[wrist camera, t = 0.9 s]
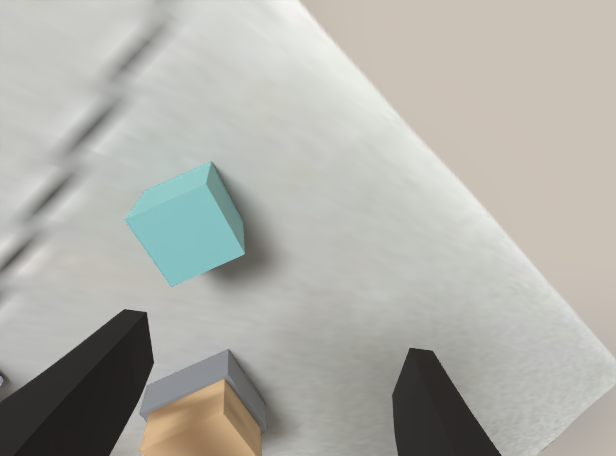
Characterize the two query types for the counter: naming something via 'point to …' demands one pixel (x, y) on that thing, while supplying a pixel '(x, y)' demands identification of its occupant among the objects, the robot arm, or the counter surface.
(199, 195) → the teal block
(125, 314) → the robot arm
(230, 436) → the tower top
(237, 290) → the counter surface
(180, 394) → the tower base
